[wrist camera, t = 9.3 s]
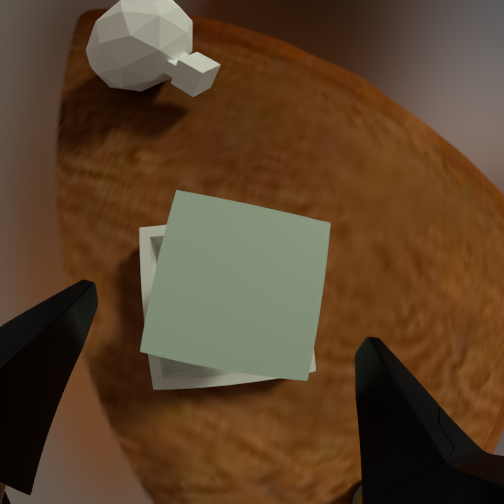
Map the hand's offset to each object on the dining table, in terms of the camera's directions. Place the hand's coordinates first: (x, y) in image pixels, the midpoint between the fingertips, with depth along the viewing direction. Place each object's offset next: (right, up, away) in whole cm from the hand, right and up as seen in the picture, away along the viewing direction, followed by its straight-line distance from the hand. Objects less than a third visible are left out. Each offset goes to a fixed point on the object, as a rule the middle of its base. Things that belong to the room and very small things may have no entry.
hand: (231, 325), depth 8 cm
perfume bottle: (-8, +17, +13) cm, 23 cm away
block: (-1, -1, +9) cm, 9 cm away
